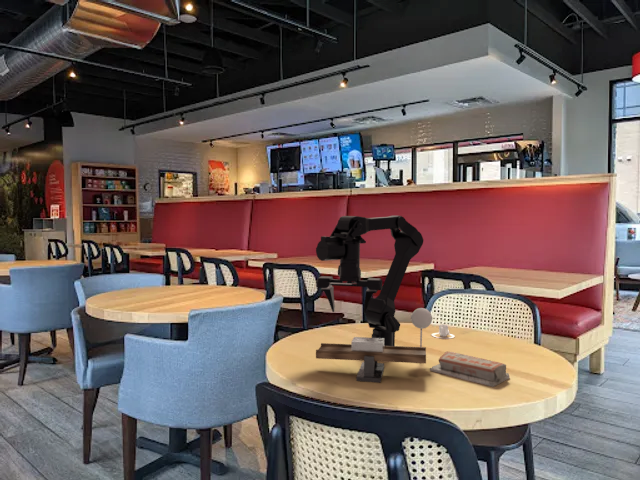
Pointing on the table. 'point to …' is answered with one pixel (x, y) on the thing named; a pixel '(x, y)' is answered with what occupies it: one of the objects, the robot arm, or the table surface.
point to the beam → (372, 353)
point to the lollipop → (421, 320)
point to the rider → (367, 344)
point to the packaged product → (471, 368)
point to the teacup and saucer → (443, 332)
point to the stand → (370, 370)
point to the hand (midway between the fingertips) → (349, 312)
